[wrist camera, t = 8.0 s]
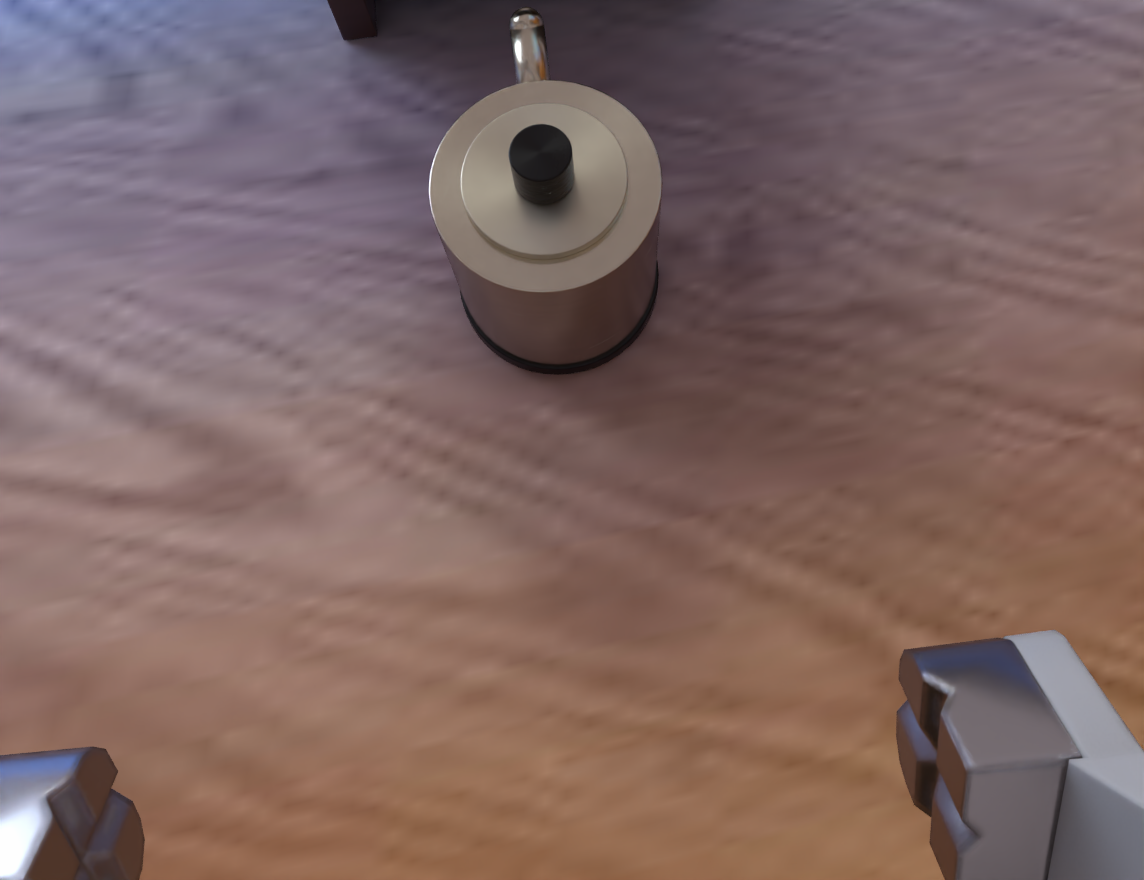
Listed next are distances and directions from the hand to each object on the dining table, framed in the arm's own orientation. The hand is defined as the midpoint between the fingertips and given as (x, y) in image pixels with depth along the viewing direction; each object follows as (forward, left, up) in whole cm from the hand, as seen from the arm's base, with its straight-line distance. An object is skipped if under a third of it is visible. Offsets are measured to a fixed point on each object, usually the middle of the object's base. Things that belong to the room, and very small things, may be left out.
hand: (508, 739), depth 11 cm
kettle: (+1, +15, -20) cm, 25 cm away
